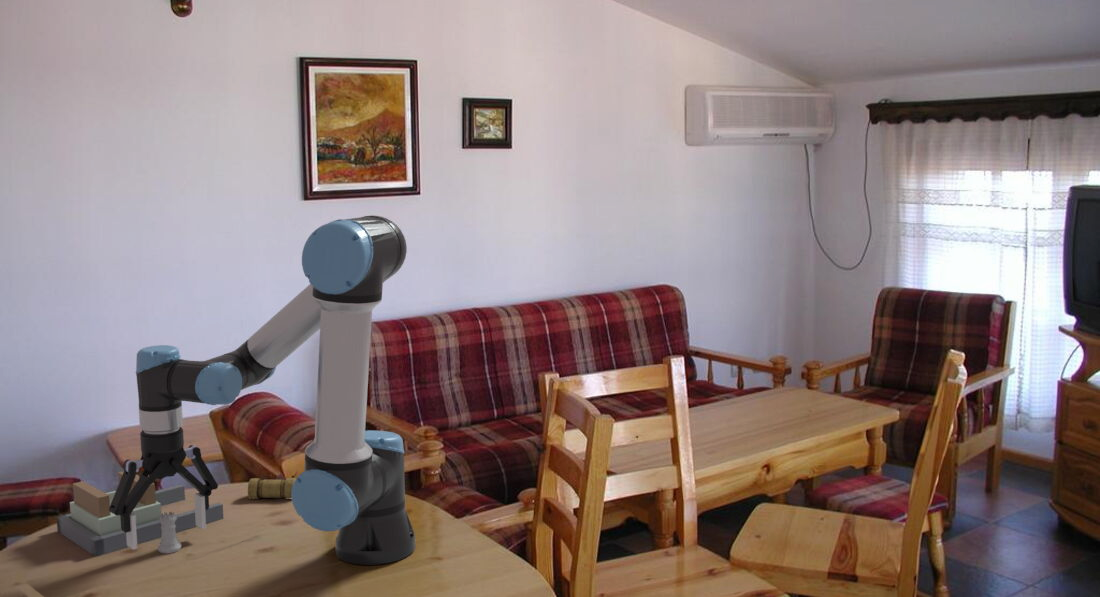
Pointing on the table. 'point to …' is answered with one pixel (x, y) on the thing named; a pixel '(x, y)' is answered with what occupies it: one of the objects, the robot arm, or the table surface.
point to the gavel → (270, 487)
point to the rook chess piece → (168, 534)
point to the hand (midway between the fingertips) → (167, 536)
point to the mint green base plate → (95, 505)
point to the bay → (144, 531)
